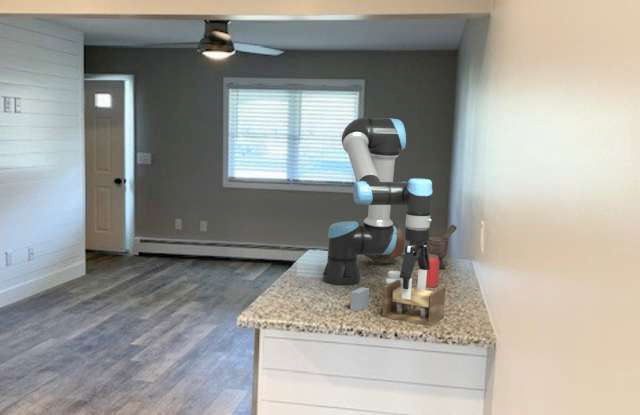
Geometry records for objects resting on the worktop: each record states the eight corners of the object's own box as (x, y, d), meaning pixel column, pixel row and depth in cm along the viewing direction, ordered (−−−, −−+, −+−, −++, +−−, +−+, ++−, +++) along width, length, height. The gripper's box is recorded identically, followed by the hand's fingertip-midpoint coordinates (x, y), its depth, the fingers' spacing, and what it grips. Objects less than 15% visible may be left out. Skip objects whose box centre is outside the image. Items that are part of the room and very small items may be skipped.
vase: (367, 257, 288) (370, 195, 284) (407, 261, 281) (410, 198, 278) (353, 266, 266) (356, 199, 263) (396, 271, 260) (400, 202, 257)
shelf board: (435, 302, 192) (436, 291, 191) (428, 307, 186) (429, 296, 185) (400, 296, 197) (401, 286, 197) (392, 301, 191) (392, 290, 191)
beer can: (437, 288, 232) (439, 257, 230) (420, 287, 233) (422, 256, 232) (438, 284, 238) (439, 254, 237) (421, 283, 239) (422, 253, 238)
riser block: (350, 309, 199) (350, 291, 198) (360, 304, 205) (361, 287, 205) (358, 311, 197) (359, 293, 196) (368, 305, 204) (369, 288, 203)
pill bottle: (397, 307, 203) (399, 275, 201) (381, 304, 206) (382, 272, 205) (405, 303, 208) (406, 271, 207) (389, 300, 211) (390, 269, 210)
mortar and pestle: (451, 266, 274) (454, 222, 272) (455, 270, 266) (457, 225, 264) (426, 265, 275) (428, 221, 273) (428, 269, 267) (431, 224, 264)
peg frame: (382, 317, 191) (384, 286, 190) (396, 309, 201) (397, 279, 200) (432, 326, 183) (433, 294, 182) (443, 317, 193) (445, 287, 192)
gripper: (414, 234, 176) (410, 305, 179) (441, 224, 198) (438, 287, 201) (391, 231, 180) (387, 300, 183) (420, 222, 201) (416, 284, 204)
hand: (414, 294), depth 192 cm, fingers open, 13 cm apart
